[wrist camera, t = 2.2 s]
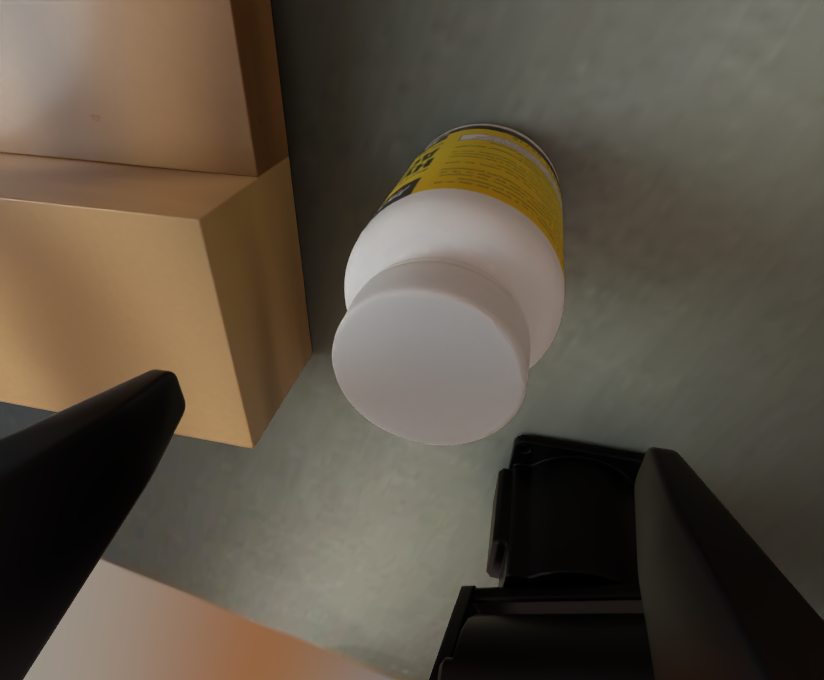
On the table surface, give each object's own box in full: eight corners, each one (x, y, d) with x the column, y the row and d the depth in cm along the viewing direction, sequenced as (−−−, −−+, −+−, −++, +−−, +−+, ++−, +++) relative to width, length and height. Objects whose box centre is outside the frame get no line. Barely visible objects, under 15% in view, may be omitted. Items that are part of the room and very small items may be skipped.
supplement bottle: (436, 91, 16) (334, 201, 8) (592, 160, 16) (635, 330, 8) (386, 236, 19) (277, 412, 12) (515, 292, 20) (495, 502, 12)
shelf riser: (259, -100, 14) (114, -138, 9) (312, 353, 24) (253, 449, 19) (-94, -102, 16) (-362, -134, 11) (86, 318, 25) (-20, 398, 21)
